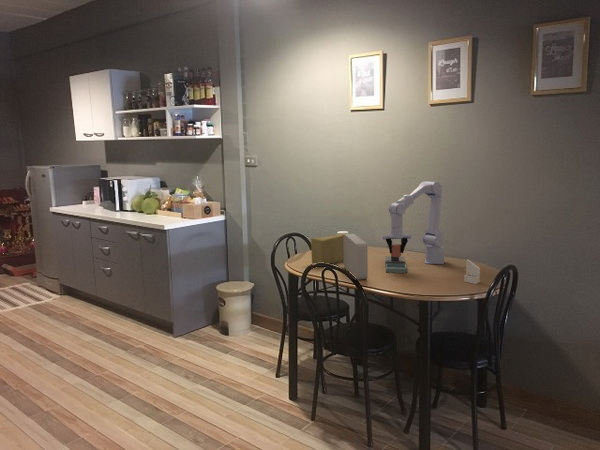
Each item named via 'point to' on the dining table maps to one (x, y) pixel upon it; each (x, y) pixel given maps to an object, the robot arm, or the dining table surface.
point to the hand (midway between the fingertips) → (396, 252)
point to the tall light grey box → (355, 256)
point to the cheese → (327, 249)
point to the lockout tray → (396, 268)
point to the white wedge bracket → (472, 273)
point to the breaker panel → (388, 261)
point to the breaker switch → (394, 258)
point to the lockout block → (396, 250)
